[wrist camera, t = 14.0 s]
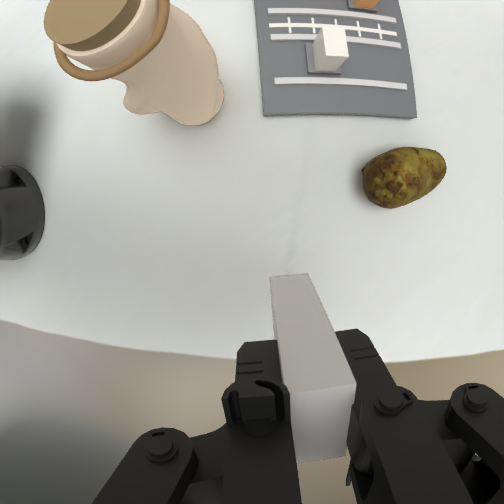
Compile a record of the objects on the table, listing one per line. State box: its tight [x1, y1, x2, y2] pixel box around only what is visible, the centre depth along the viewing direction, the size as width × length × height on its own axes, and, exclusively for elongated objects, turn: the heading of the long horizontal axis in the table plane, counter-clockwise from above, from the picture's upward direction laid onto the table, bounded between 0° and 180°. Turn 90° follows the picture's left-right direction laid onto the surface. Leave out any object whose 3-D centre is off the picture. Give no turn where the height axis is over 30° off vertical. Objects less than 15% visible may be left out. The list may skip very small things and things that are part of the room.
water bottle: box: [44, 0, 224, 125], centre depth 22 cm, size 10×9×28 cm
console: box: [254, 0, 417, 119], centre depth 32 cm, size 20×24×3 cm
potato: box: [362, 147, 446, 209], centre depth 35 cm, size 8×13×8 cm, turn 87°
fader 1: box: [304, 26, 349, 75], centre depth 29 cm, size 4×4×7 cm
